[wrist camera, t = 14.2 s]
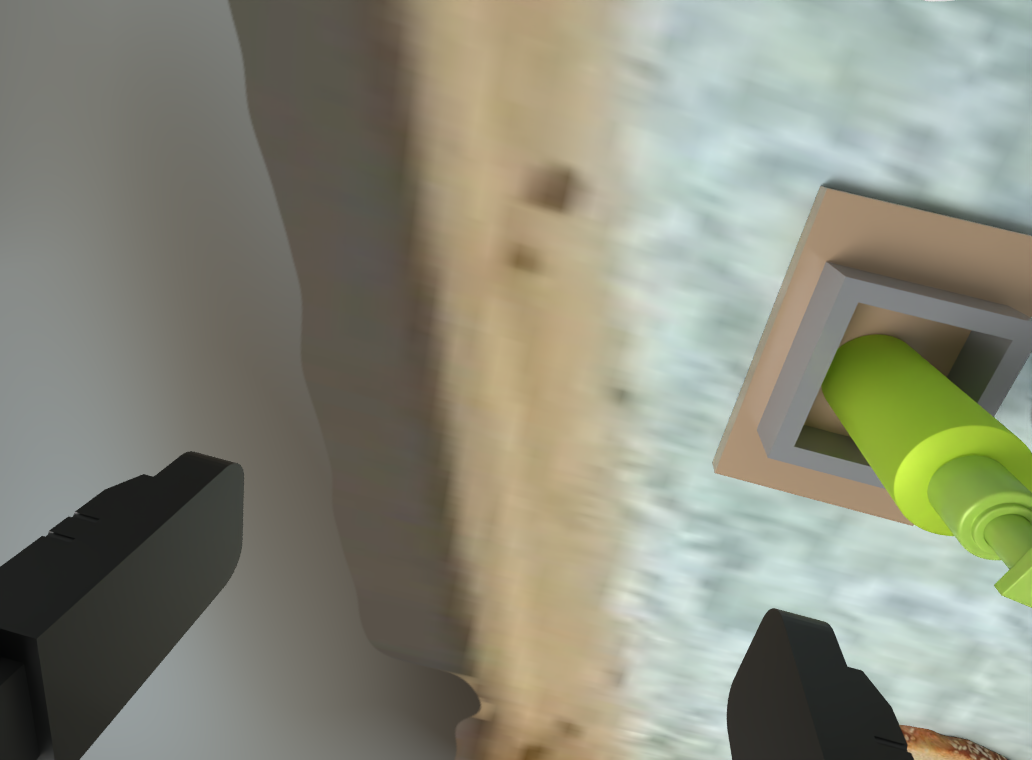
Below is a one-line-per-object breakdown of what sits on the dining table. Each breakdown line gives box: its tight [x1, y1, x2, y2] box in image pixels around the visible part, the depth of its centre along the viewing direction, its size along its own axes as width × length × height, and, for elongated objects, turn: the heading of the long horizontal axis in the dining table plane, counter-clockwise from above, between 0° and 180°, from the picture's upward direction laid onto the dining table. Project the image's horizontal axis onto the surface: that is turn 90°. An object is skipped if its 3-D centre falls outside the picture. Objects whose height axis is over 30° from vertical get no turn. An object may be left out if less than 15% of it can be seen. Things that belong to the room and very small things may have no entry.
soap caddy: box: [712, 186, 1032, 526], centre depth 41 cm, size 20×14×6 cm
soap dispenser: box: [821, 334, 1032, 608], centre depth 32 cm, size 6×7×20 cm
